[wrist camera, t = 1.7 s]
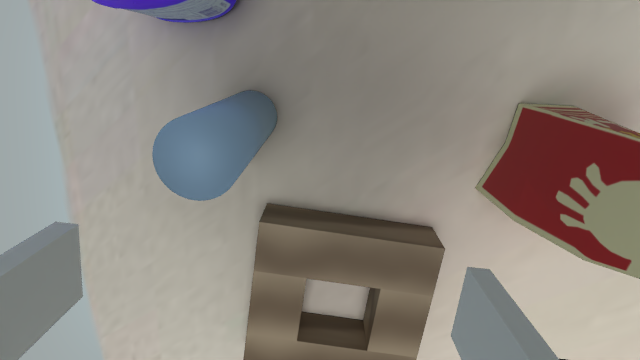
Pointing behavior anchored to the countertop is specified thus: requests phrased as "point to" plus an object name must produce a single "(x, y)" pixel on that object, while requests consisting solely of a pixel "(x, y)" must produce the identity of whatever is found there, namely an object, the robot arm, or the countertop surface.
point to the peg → (213, 144)
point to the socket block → (341, 267)
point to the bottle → (174, 8)
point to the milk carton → (571, 183)
